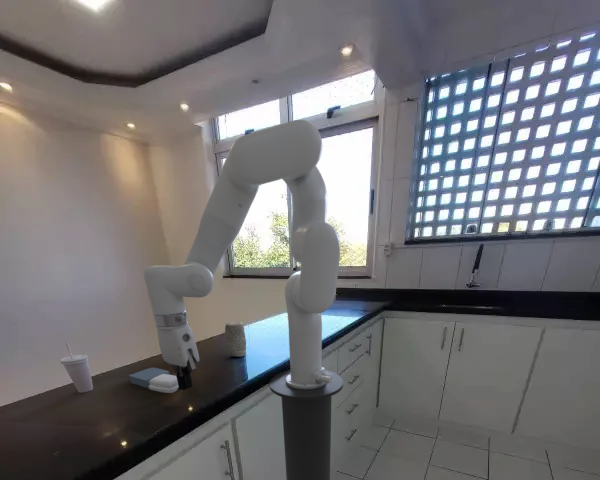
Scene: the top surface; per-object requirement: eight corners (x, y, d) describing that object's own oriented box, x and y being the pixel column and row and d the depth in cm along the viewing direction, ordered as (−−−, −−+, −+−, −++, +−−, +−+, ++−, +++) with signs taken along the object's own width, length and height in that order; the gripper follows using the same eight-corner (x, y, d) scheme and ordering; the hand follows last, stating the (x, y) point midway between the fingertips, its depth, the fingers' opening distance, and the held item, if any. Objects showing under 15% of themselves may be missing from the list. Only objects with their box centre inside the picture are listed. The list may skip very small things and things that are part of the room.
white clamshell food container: (147, 389, 88) (144, 379, 87) (165, 380, 94) (162, 371, 92) (171, 393, 85) (168, 384, 83) (188, 384, 90) (186, 375, 89)
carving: (251, 354, 115) (247, 321, 109) (237, 360, 109) (233, 326, 104) (238, 352, 118) (234, 320, 112) (224, 357, 112) (219, 324, 107)
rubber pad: (170, 378, 95) (168, 371, 94) (147, 388, 89) (145, 380, 88) (154, 374, 99) (152, 367, 97) (130, 383, 92) (128, 375, 91)
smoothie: (66, 394, 86) (47, 345, 80) (84, 385, 92) (67, 338, 86) (87, 395, 85) (69, 345, 79) (103, 385, 91) (88, 339, 85)
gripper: (203, 319, 75) (215, 388, 83) (166, 314, 83) (180, 378, 91) (176, 326, 70) (192, 399, 78) (140, 320, 77) (157, 387, 86)
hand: (186, 387), depth 84 cm, fingers closed
